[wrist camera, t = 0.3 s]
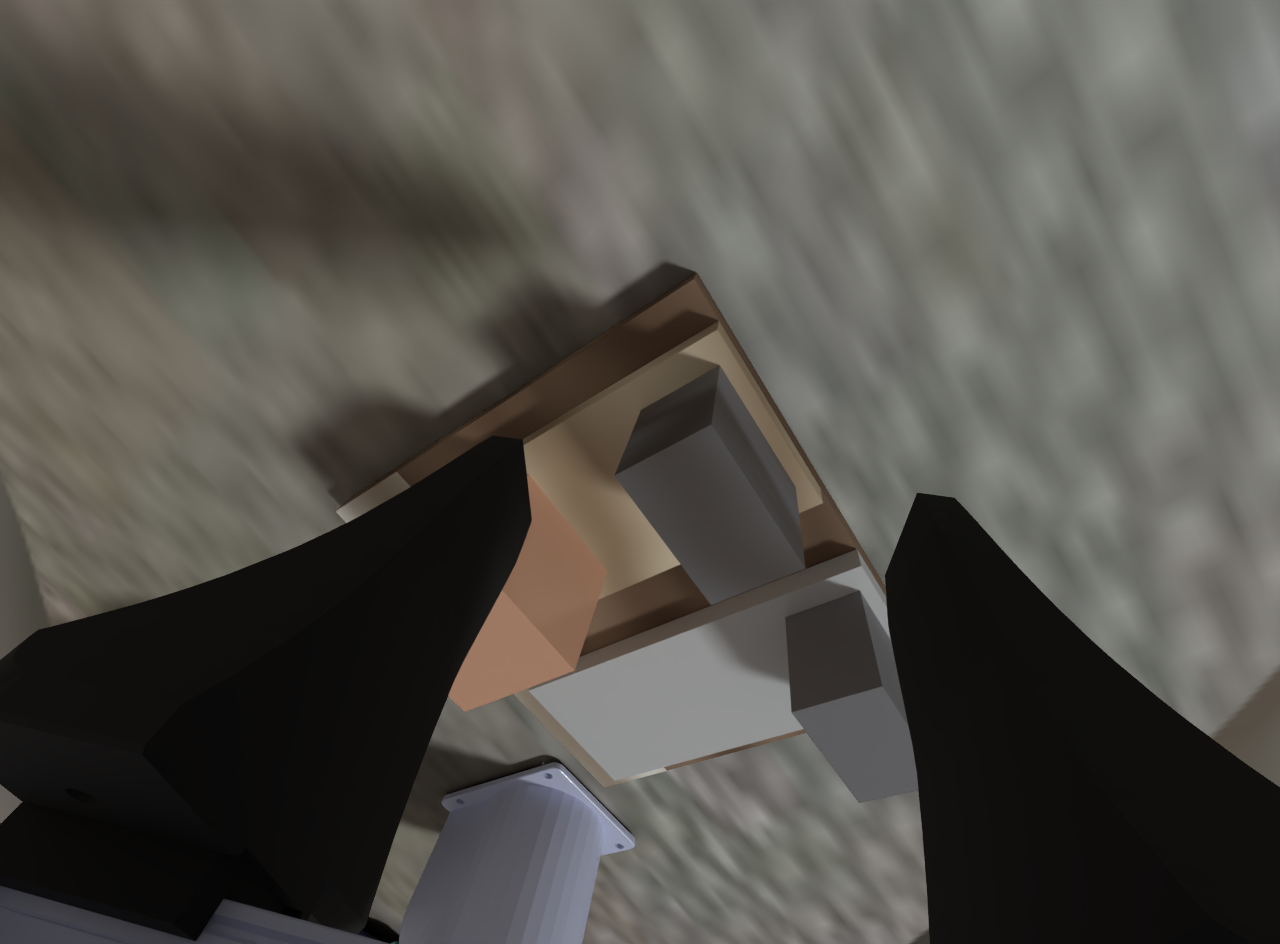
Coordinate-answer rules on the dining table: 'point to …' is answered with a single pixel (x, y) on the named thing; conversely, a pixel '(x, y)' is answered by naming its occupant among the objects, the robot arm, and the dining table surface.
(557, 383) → the lane board
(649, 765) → the grey strip
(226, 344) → the dining table surface
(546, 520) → the terracotta cube
